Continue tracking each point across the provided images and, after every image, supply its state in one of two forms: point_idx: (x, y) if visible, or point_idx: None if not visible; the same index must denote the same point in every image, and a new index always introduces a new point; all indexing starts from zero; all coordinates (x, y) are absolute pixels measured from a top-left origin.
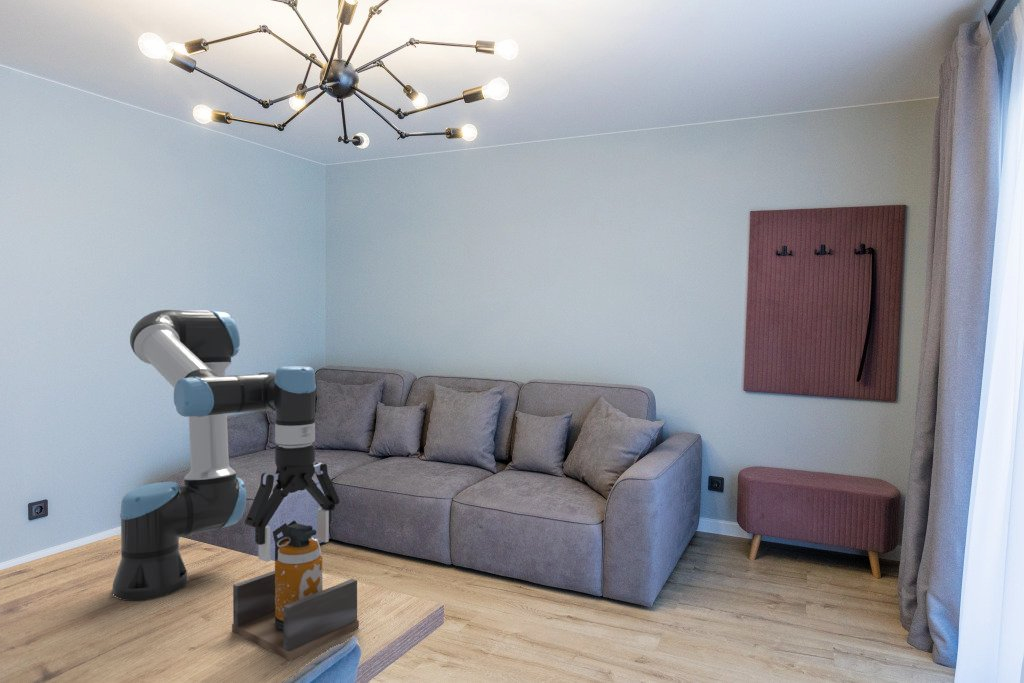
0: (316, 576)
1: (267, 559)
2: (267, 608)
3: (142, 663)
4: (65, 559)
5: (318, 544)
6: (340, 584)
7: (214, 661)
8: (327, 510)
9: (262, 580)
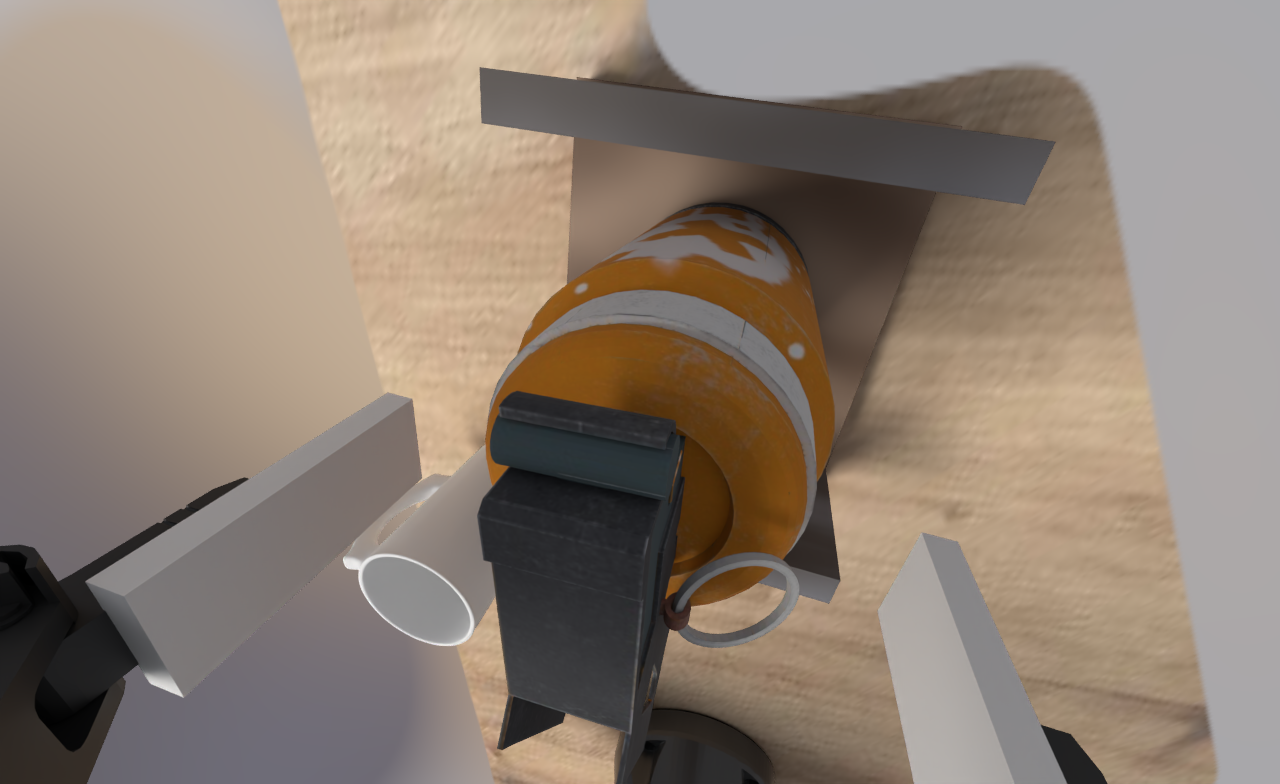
0: (673, 240)
1: (955, 554)
2: None
3: (1094, 574)
4: None
5: (358, 540)
6: (580, 120)
7: (1030, 396)
8: (97, 596)
9: None
